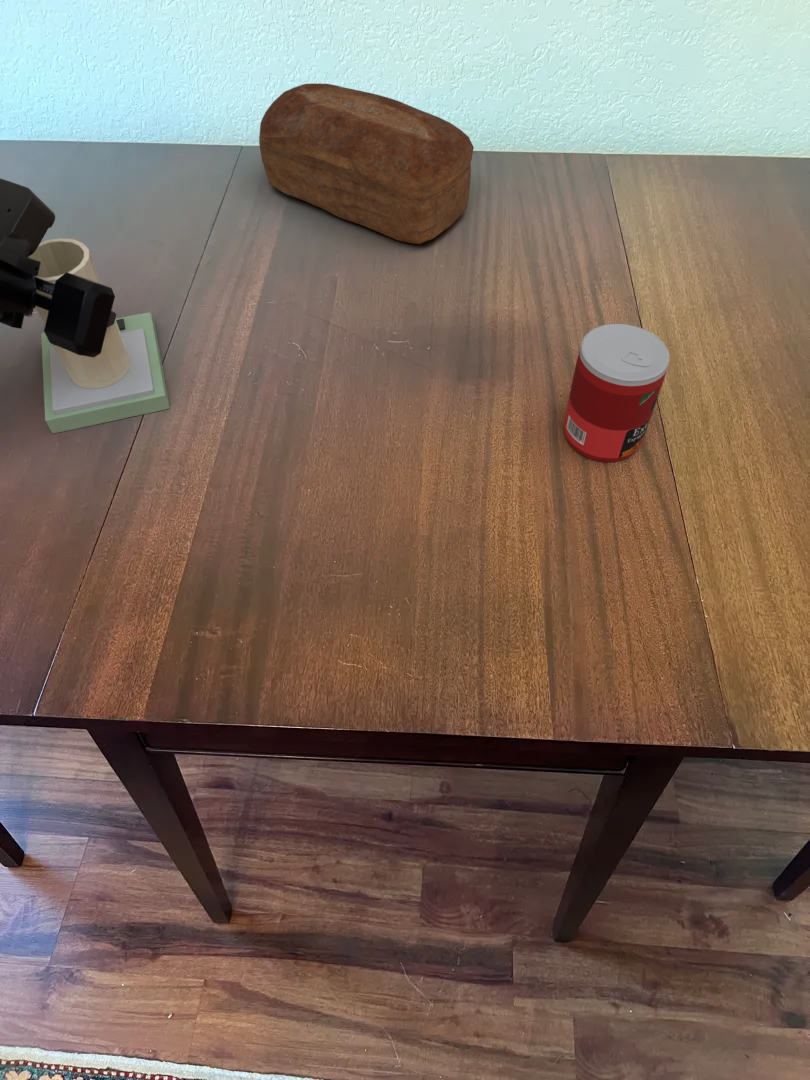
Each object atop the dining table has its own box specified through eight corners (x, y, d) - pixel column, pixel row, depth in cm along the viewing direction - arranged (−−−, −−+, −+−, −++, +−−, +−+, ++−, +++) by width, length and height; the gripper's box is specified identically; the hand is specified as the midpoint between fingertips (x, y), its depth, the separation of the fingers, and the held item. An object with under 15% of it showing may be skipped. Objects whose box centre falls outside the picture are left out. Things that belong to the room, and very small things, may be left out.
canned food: (634, 473, 76) (663, 389, 67) (553, 452, 77) (571, 368, 68) (648, 419, 80) (677, 333, 71) (571, 400, 82) (590, 315, 73)
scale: (170, 409, 82) (163, 390, 79) (52, 434, 80) (42, 416, 78) (155, 325, 89) (149, 307, 87) (47, 347, 88) (38, 328, 85)
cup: (131, 383, 80) (89, 274, 70) (67, 393, 79) (14, 285, 69) (130, 343, 84) (89, 233, 73) (68, 352, 83) (18, 243, 72)
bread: (424, 264, 96) (425, 167, 86) (252, 193, 105) (235, 98, 95) (484, 211, 102) (491, 115, 92) (317, 148, 112) (307, 55, 102)
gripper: (56, 201, 58) (184, 252, 72) (-117, 141, 63) (35, 201, 78) (23, 346, 60) (153, 368, 75) (-141, 277, 66) (11, 310, 80)
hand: (87, 308), depth 77 cm, fingers closed on cup, 6 cm apart
